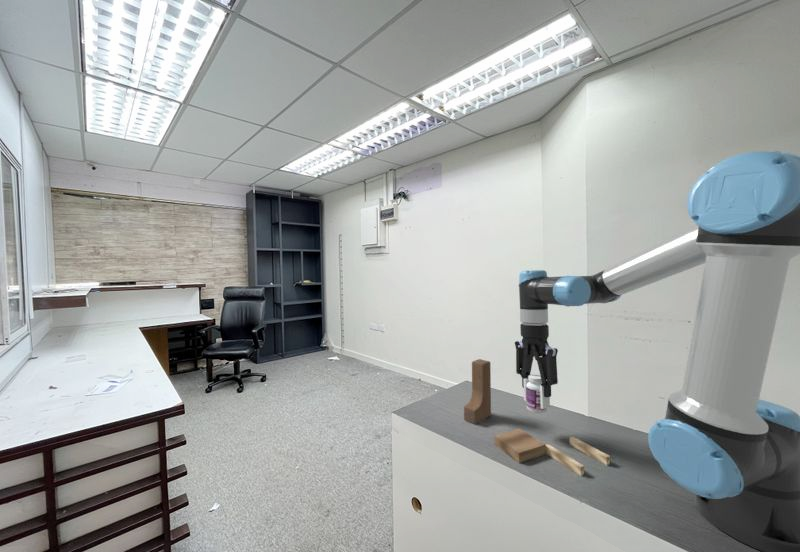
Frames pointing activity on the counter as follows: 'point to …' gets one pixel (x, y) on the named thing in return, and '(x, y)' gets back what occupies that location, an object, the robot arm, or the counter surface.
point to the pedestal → (520, 445)
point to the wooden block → (479, 393)
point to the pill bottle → (534, 394)
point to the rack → (571, 462)
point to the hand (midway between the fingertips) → (536, 403)
